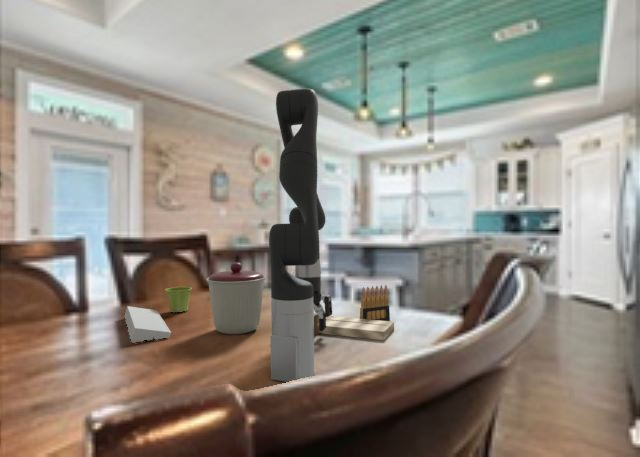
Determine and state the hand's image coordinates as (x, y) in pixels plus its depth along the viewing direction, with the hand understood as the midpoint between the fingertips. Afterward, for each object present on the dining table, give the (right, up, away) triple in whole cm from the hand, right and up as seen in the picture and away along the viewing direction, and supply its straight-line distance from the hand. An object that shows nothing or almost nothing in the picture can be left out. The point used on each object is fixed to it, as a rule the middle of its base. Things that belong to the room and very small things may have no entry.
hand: (308, 329), depth 121 cm
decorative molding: (-53, -3, +11) cm, 54 cm away
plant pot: (-50, -2, +34) cm, 60 cm away
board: (+11, -2, +5) cm, 12 cm away
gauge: (+1, -2, +3) cm, 4 cm away
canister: (-22, -2, +6) cm, 23 cm away
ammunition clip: (+22, -1, +14) cm, 26 cm away
